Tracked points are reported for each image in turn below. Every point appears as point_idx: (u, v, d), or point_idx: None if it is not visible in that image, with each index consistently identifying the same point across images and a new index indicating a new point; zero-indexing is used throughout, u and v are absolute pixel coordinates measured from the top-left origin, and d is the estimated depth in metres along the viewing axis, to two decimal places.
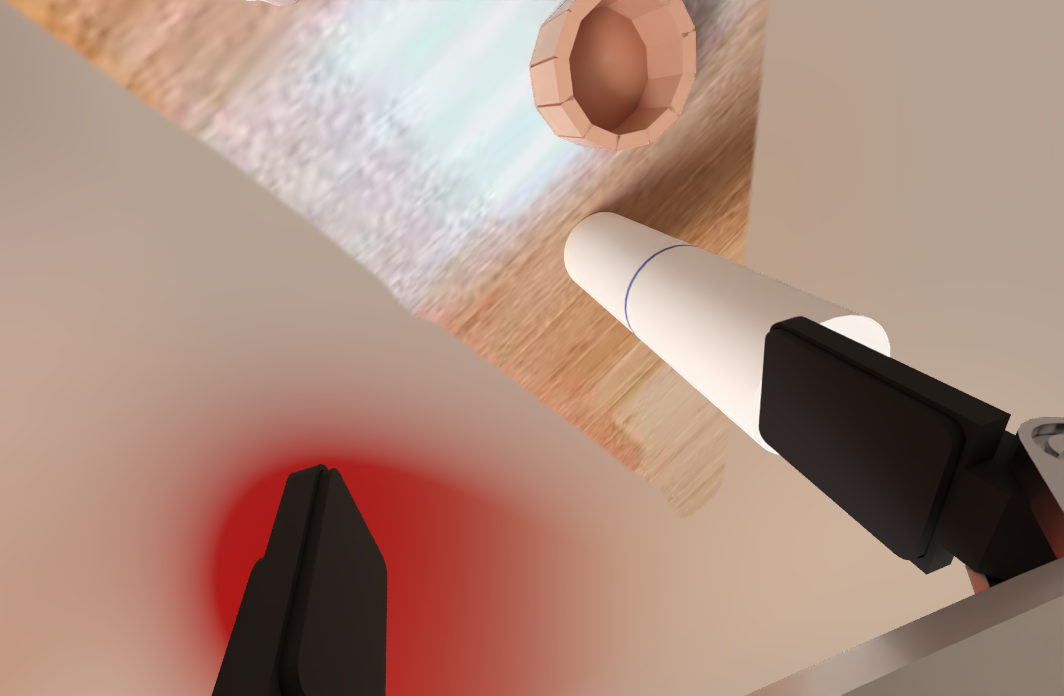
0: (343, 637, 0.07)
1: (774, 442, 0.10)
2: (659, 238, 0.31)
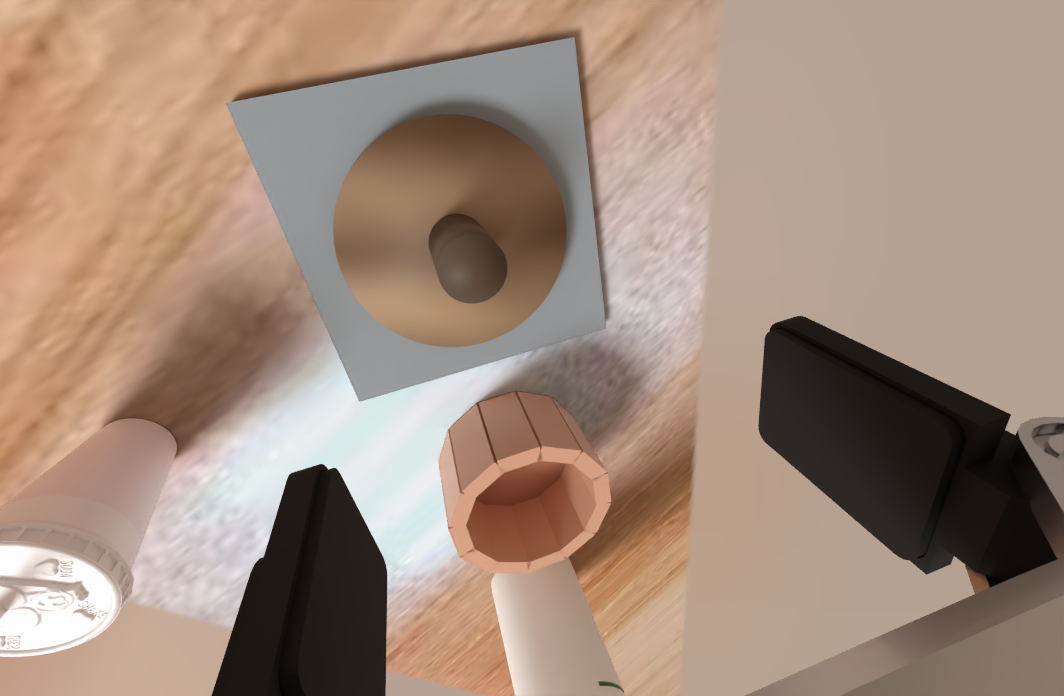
0: (343, 637, 0.07)
1: (774, 442, 0.10)
2: (571, 682, 0.29)
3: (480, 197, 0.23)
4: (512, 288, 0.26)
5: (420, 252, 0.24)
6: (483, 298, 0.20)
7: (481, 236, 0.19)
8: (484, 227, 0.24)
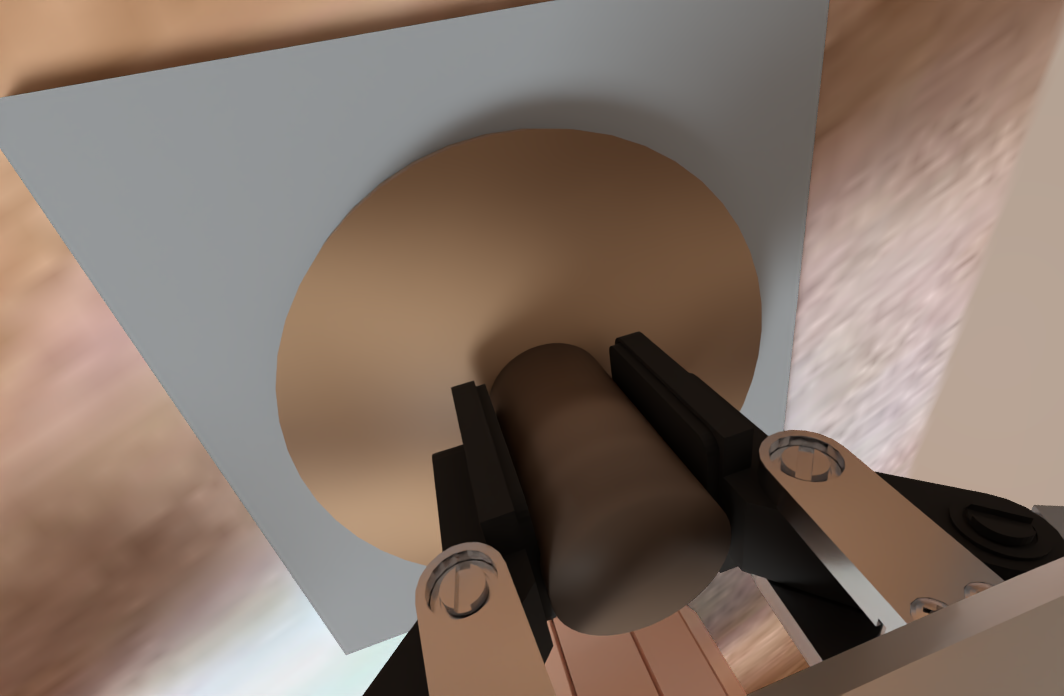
0: None
1: None
2: None
3: (603, 308, 0.11)
4: None
5: None
6: (656, 617, 0.08)
7: (680, 491, 0.07)
8: (604, 364, 0.11)
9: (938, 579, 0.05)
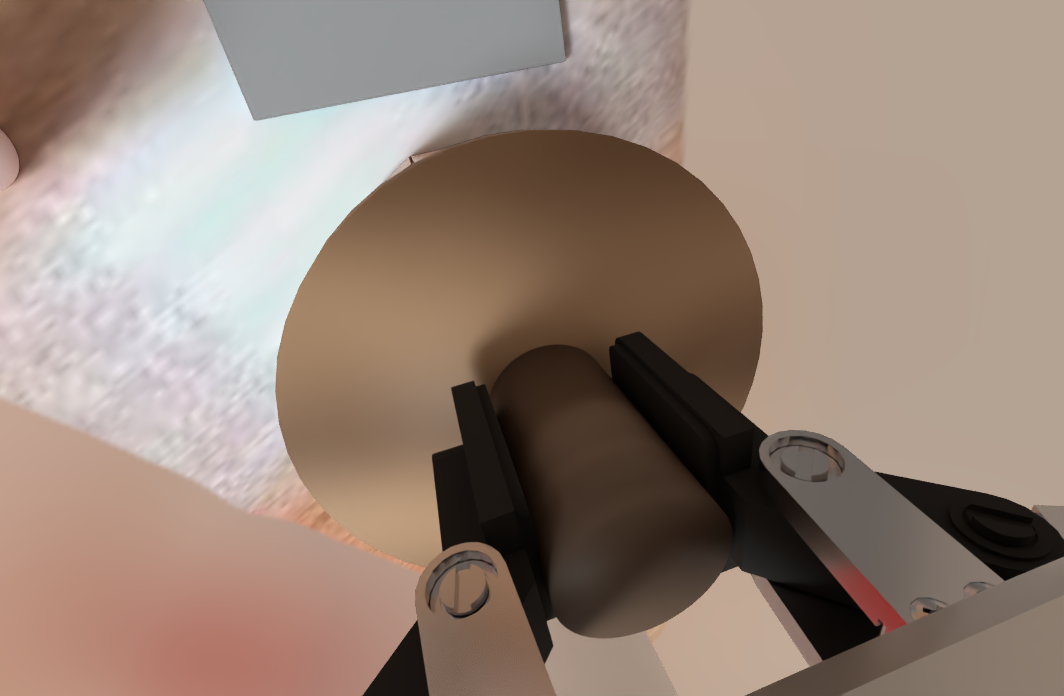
0: None
1: None
2: None
3: (604, 309, 0.11)
4: None
5: None
6: (657, 619, 0.08)
7: (681, 493, 0.07)
8: (605, 365, 0.11)
9: (937, 579, 0.05)
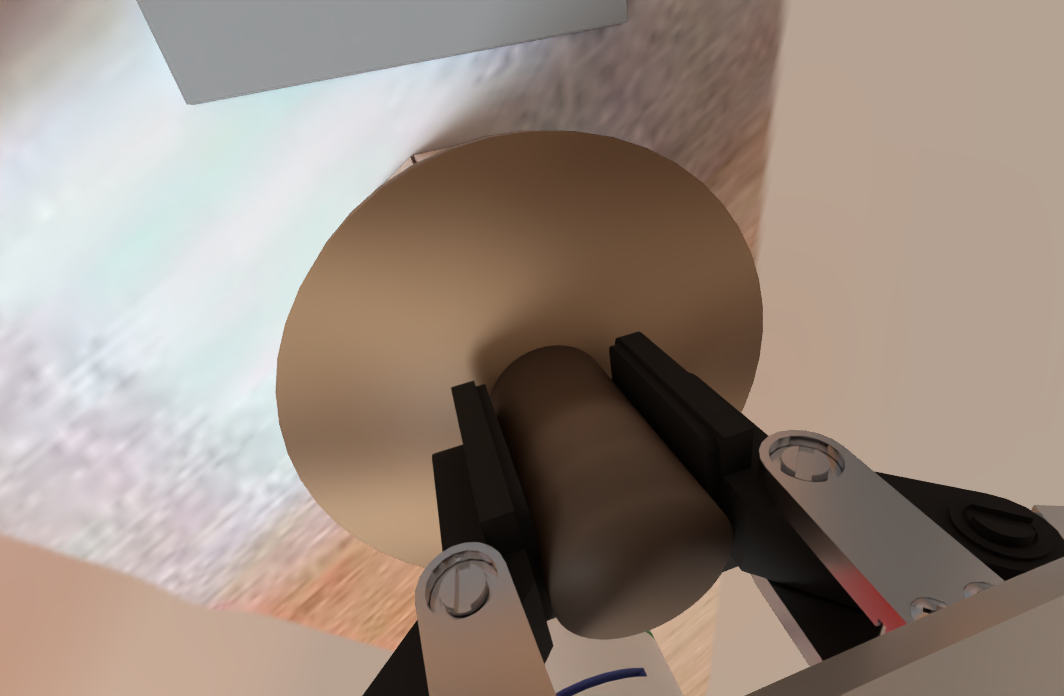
0: None
1: None
2: None
3: (604, 310, 0.11)
4: None
5: None
6: (658, 620, 0.08)
7: (681, 495, 0.07)
8: (605, 366, 0.11)
9: (938, 579, 0.05)
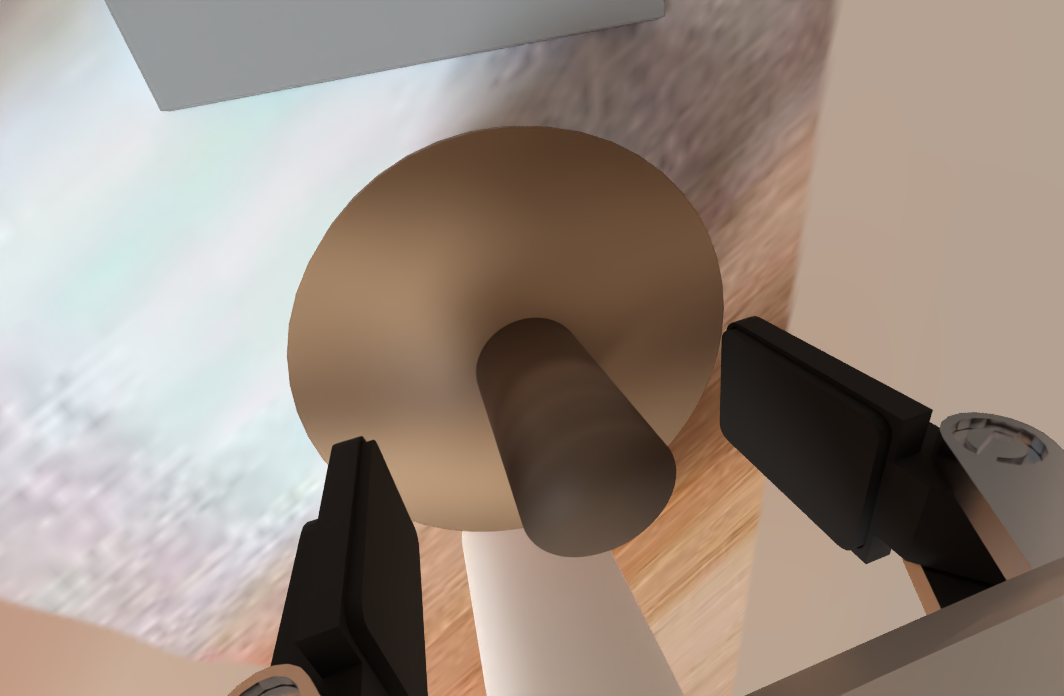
0: (391, 589, 0.07)
1: (733, 438, 0.11)
2: None
3: (577, 286, 0.12)
4: None
5: (460, 389, 0.12)
6: (615, 542, 0.09)
7: (628, 426, 0.08)
8: (580, 338, 0.13)
9: None
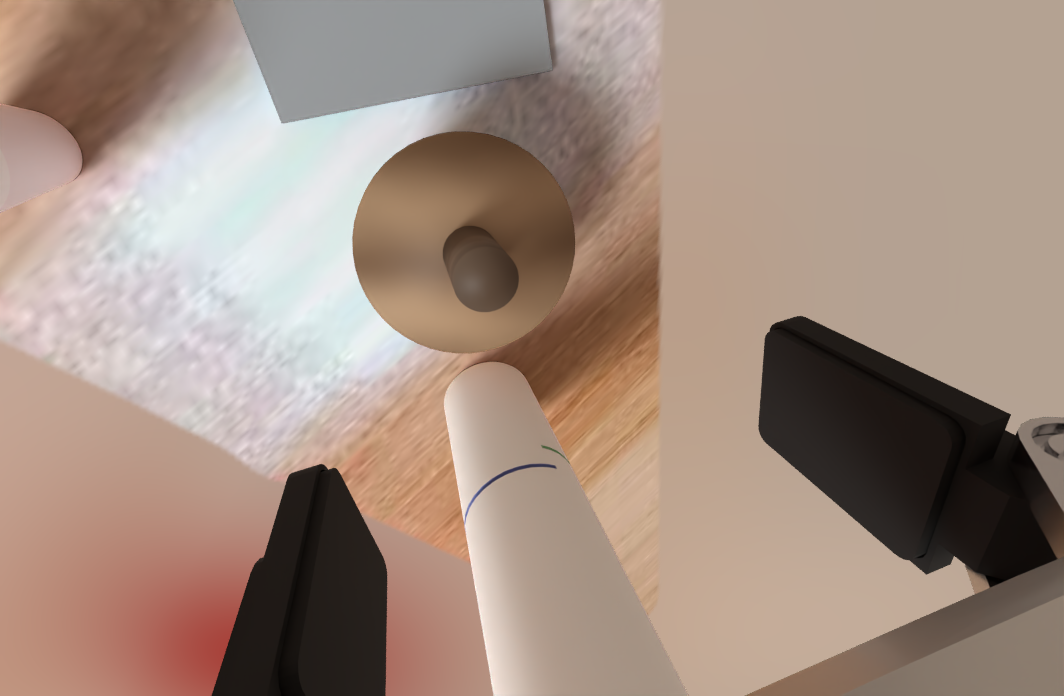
0: (343, 637, 0.07)
1: (774, 442, 0.10)
2: (511, 443, 0.27)
3: (492, 210, 0.24)
4: (522, 296, 0.27)
5: (434, 262, 0.25)
6: (495, 307, 0.21)
7: (494, 248, 0.20)
8: (496, 238, 0.25)
9: None
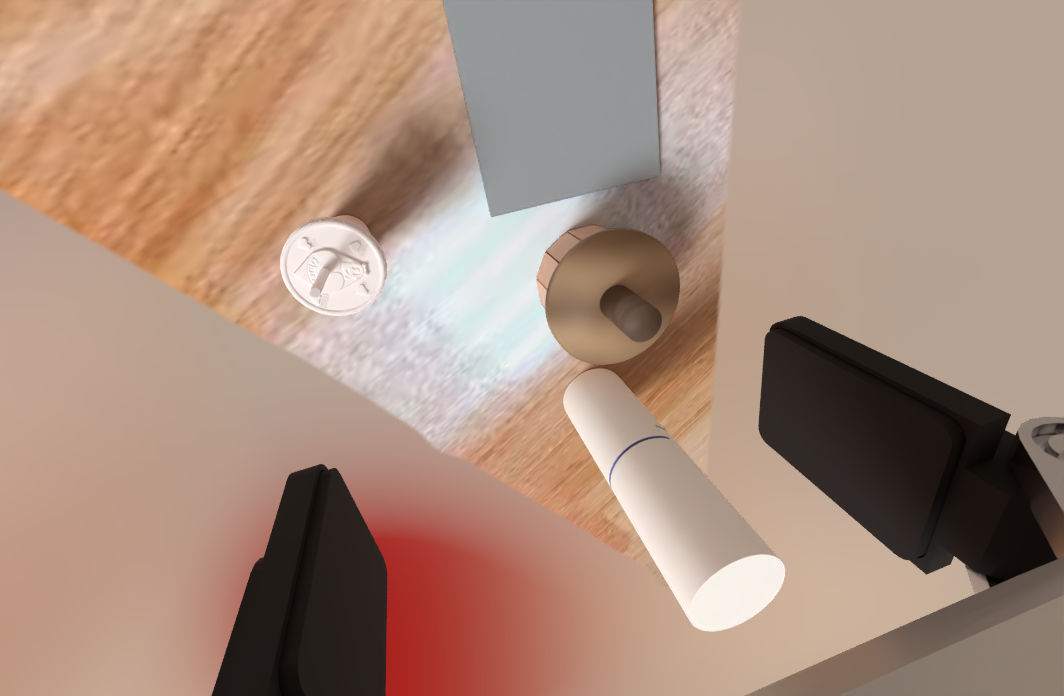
0: (343, 637, 0.07)
1: (774, 442, 0.10)
2: (636, 423, 0.41)
3: (632, 275, 0.38)
4: None
5: (594, 308, 0.39)
6: (646, 339, 0.35)
7: (650, 305, 0.34)
8: (632, 292, 0.39)
9: None
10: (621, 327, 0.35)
